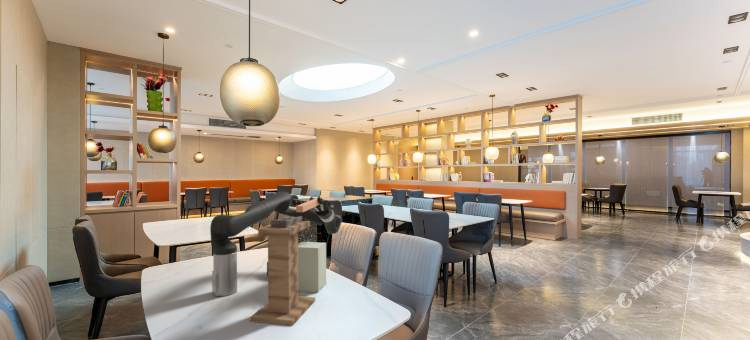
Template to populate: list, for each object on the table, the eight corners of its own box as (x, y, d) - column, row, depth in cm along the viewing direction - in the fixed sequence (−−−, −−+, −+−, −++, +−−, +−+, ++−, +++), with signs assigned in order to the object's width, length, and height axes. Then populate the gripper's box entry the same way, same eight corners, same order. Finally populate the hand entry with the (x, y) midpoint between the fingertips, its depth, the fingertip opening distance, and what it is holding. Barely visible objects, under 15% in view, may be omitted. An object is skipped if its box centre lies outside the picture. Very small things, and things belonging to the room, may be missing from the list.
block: (303, 212, 132) (302, 206, 132) (296, 212, 133) (296, 206, 133) (321, 203, 154) (321, 198, 154) (315, 203, 155) (315, 198, 154)
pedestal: (318, 292, 137) (318, 248, 137) (292, 290, 140) (292, 246, 139) (326, 284, 147) (326, 242, 147) (301, 282, 149) (301, 241, 149)
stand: (293, 325, 108) (292, 223, 108) (250, 321, 111) (249, 222, 111) (315, 301, 128) (314, 215, 128) (278, 298, 131) (277, 214, 131)
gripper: (337, 220, 161) (327, 206, 146) (311, 219, 163) (298, 205, 149) (339, 206, 164) (330, 191, 150) (313, 205, 167) (301, 191, 152)
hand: (314, 198), depth 149 cm, fingers closed on block, 3 cm apart
